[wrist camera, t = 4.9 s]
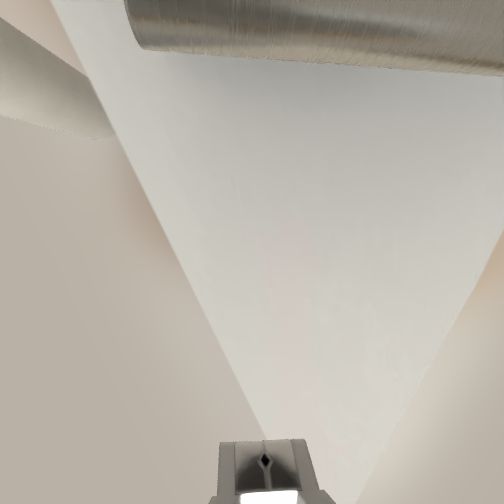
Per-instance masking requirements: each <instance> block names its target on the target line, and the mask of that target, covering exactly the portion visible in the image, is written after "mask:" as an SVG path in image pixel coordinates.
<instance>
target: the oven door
mask: <svg viewBox="0 0 504 504" xmlns="http://www.w3.org/2000/svg"><path fill="white" fill-rule="evenodd" d="M124 4H125V9H126V12H127V16H128V19H129V23H130V25H131V28H132V31H133V33H134V36H135V38H136V40H137V42H138V44H139V45H140V47H142V48H143V49H145V50H153V51H166V52H180V53H194V54H207V55H221V56H234V57H248V58H261V59H275V60H288V61H302V62H316V63H329V64H343V65H356V66H370V67H383V68H397V69H410V70H424V71H438V72H451V73H465V74H478V75H492V76H504V0H124Z"/></svg>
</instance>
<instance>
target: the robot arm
mask: <svg viewBox="0 0 504 504" xmlns="http://www.w3.org/2000/svg"><path fill="white" fill-rule="evenodd" d="M208 504H336V503H335V502H334V501H333V499H332V498H331V497H330V496H329V495H328V494H327V493H326V492H325V490H319V486H318V482H317V479H316V475H315V472H314V468H313V465H312V461H311V458H310V454H309V451H308V447H307V444H306V441H305V440H304V439H290V440H289V439H283V440H266V441H261V442H260V441H258V442H235V445H234V442H220V446H219V464H218V486H217V496H213V497H212V498H211V500H210V502H209V503H208Z"/></svg>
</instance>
